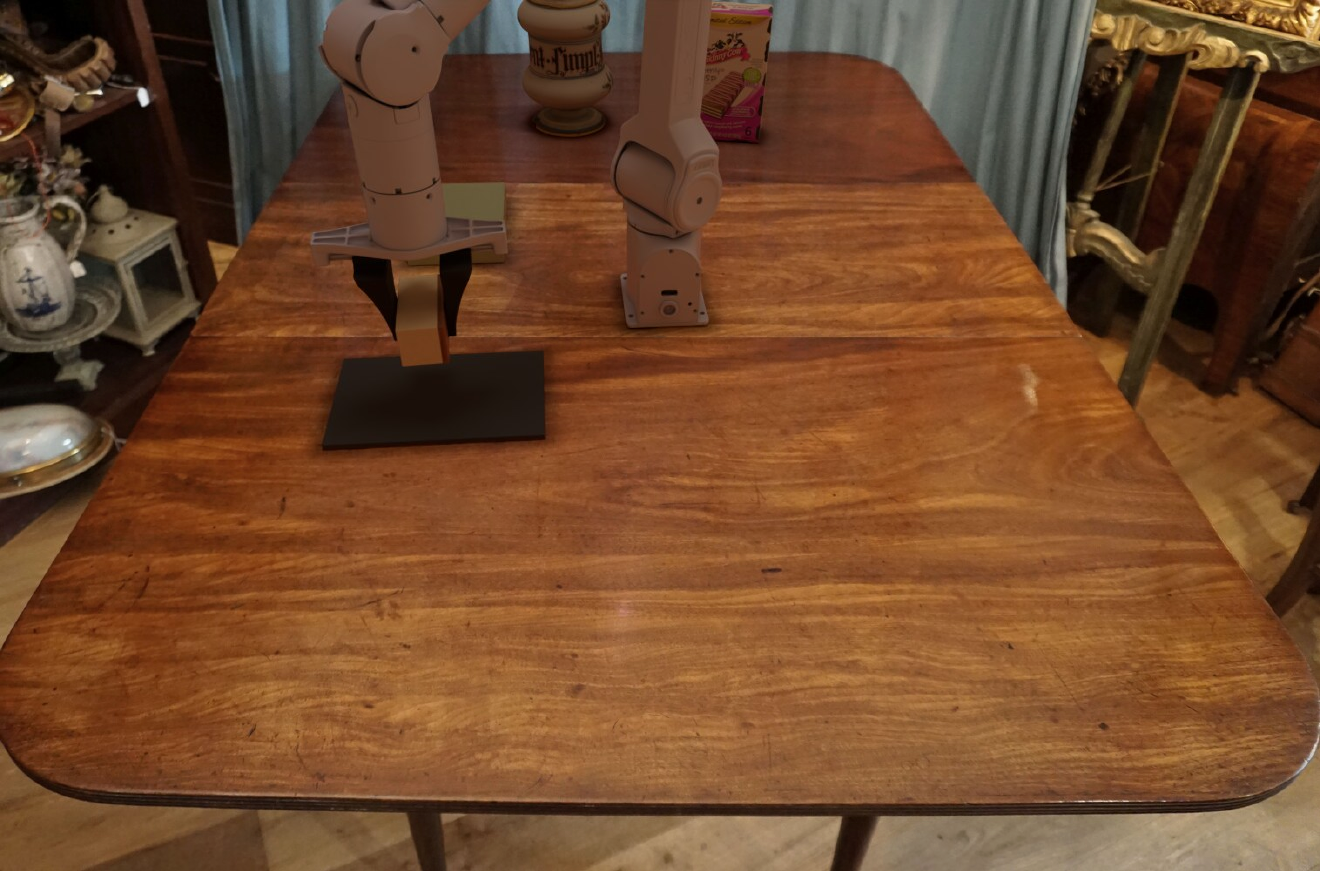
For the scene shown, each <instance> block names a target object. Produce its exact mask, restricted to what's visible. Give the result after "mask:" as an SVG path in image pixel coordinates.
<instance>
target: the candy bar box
mask: <svg viewBox="0 0 1320 871" xmlns="http://www.w3.org/2000/svg"><path fill="white" fill-rule="evenodd" d="M773 16H774V5H773V4H767V3H754V2H753V3H751V2H736V1H723V0H712V8H711V18H710V27H709V37H708V46H707V56H706V65H705V75H704V84H703V94H702V104H701V113H700V118H701V120H702V122H703V124H704V125H705V127H706V129H707V130H708V132H709V133H710V135H711V137H712V138H713V140H714V141H725V142H726V141H728V142H729V141H730V142H740V143H741V142H742V143H759V141H760V135H761V128H762V119H763V112H764V100H765V92H766V82H767V73H768V64H769V55H770V45H771V36H772V29H773V28H772V26H773V18H774V17H773Z"/></svg>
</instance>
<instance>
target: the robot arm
mask: <svg viewBox="0 0 1320 871" xmlns="http://www.w3.org/2000/svg"><path fill="white" fill-rule="evenodd" d="M491 1H492V0H342V1H341V2H340V3H338V4H337V5H336V6H335V7H334V8H333V9H332V11H331V12H330V13H329V15H328V16H327V19H326V22H325V23H324V25H325V29H324V30H323V32H322V43H319V44H318V45H317V50H318V53H319V55H320V58H321V60H322V62H323V63H324V65H325V67H326V68H327V69H328V70H329V71H330V73H332V74H333V75H334V76H335V77H337V78H338V80H339V81H340V82H341V89H342V93H343V99H344V104H345V109H346V113H347V122H348V127H349V131H350V138H351V143H352V147H353V152H354V158H355V163H356V167H357V172H358V178H359V182H360V187H361V192H362V197H363V201H364V202H363V203H364V208H365V212H366V218H367V221H366V222H360V223H356V224H352V225H348V226H343V227H339V228H334V229H328V230H320V231H319V230H318V231H317V230H316V231H312V232H311V235H310V239H309V240H310V241H309V247H310V252H311V255H312V260H313V264H314V267H327V266H329V265H330V264H331V262H341V261H351V263H352V270H353V273H352V278H353V281H354V283H355V285H356V286H357V288H359V290H361V291H362V292H363V293H364V295H366V297H367V298H368V299H369V300H370V301H371V302H372V304H374V306H375V307H376V309H377V310H378V311H379V313H380V315H381V316H382V317H383V319H384V321H385V323H386V324H387V327H388V328H389V330H390V332H391V334H392V338H393V341H395V342H398V341H397V336H396V315H397V299H398V293H397V291H396V285H395V280H394V273H393V266H392V261H403V262H404V261H405V262H406V261H407V262H408V261H409V260H418V259H423V258H428V257H432V256H436V255H440V260H439V270H438V271H439V273H438V274H440V279H441V284H442V289H443V294H444V300H445V307H446V325H447V331H448V336H449V338H452V337H457V336H458V334H457V332H458V330H457V323H458V322H457V321H458V315H459V310H460V305H461V301H462V300H463V295H464V293H465V291H466V288H467V286H468V284H469V282H470V280H471V276H472V274H473V273H472V272H473V263H472V252H477V251H494V254H505V255H507V254H509V249H508V238H507V226H506V227H505V221H504V220H477V219H468V218H459V217H450V216H446V214H445V207H444V200H443V192H442V185H441V184H442V178H441V177H442V176H441V172H440V171H441V170H440V165H439V156H438V150H437V149H438V148H437V142H436V135H435V128H434V122H433V120H434V119H433V114H432V106H431V101H430V100H431V99H430V92H432V91H434V89H435V87H436V86H437V83H438V81H439V79H440V76H441V72H442V65H443V58H444V56H445V54H446V53H447V52H448V51H449V49H450V47H449V45H450V44H451V43H452V42H453V41H454V40H455V39H456V38H457V37H459V35H460V34H461V33H462V32H463V31H464V30H465V29H466V28H467V27H468V26H469V24H471V22H472V21H473V20H474V19H475V18H476V17H477V16H478V15H479V14H480V13H481V12H482V11H483V10H484V9H485V8H486V7H487V6H488V4H489V3H490V2H491ZM712 1H713V0H645V2H644V20H643V36H642V50H641V66H640V79H639V80H640V82H639V96H638V97H639V98H638V99H639V100H638V112H637V113H636V114H635V115H633V116H632V117H631V118H629V119H628V120H627V121H625V122H623V123H622V124H621V126H620V129H619V130H620V131H619V141H618V145H617V148H616V151H615V153H614V155H613V157H612V160H611V164H610V169H609V180H610V184H611V187H612V189H613V191H614V192H615V193H616V194H617V195H618V196H619V197H622V210H623V211H624V212H625V213H626V273H622V274H620V276H619V278H620V287H621V294H622V295H621V296H622V301H623V302H622V303H623V309H624V318H625V323H626V324H625V325H626V327H628V328H632V329H634V328H635V329H636V328H658V327H659V328H660V327H661V328H662V327H663V328H664V327H686V326H687V327H688V326H706V325H708V324H709V320H710V318H709V316H708V311H707V307H706V303H705V299H704V296H703V292H702V287H701V286H702V266H701V252H702V250H701V249H702V234H703V228H704V227H705V226H707V225H708V223H709V221H711V219H712V218H713V217H714V215H715V214H716V212H717V210H718V208H719V206H720V203H721V199H722V195H723V179H722V176H721V174H720V168H719V159H720V149H719V146H718V145H717V143H716V140H713V138H712V137H711V135H710V133H709V132H708V130H707V129H706V127H705V125H704V124H703V122H702V120H701V118H700V113H701V104H702V94H703V84H704V75H705V65H706V56H707V46H708V37H709V27H710V18H711V8H712Z"/></svg>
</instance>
